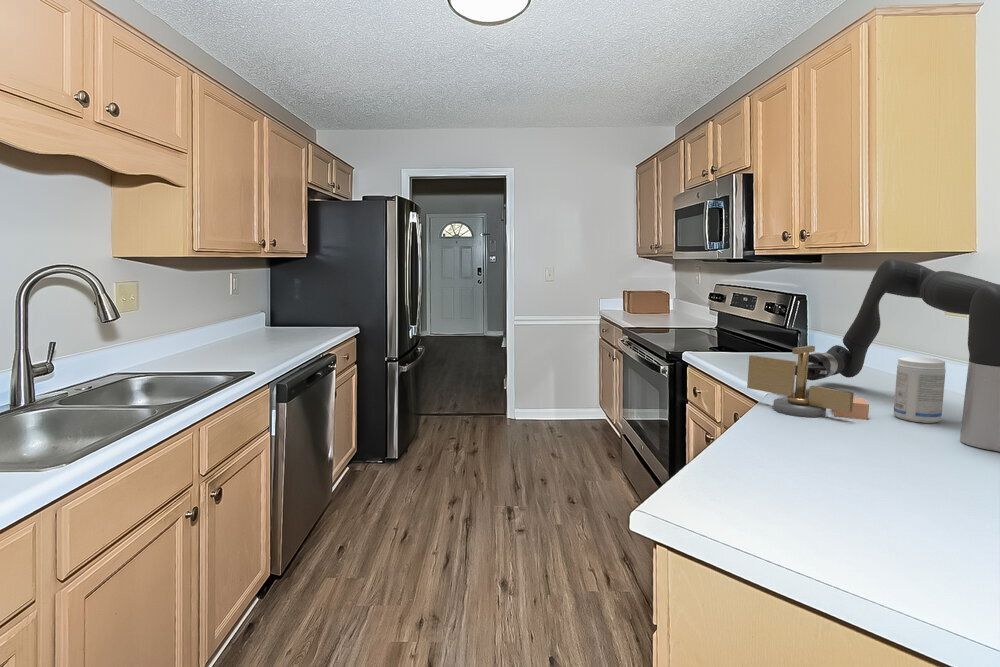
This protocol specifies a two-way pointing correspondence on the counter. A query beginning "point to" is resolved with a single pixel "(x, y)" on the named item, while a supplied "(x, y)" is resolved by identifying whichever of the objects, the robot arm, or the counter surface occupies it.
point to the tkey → (782, 376)
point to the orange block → (855, 410)
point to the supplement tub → (919, 389)
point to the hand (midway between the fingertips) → (788, 371)
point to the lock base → (797, 409)
